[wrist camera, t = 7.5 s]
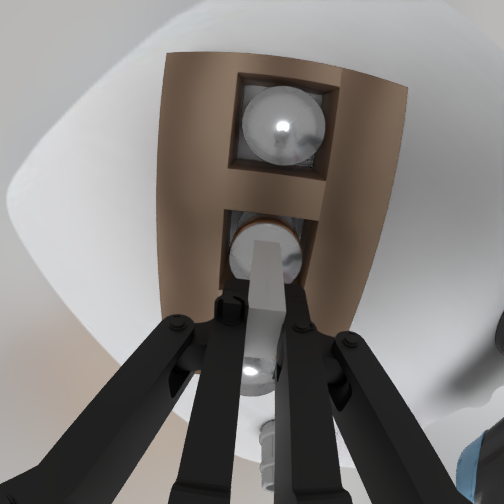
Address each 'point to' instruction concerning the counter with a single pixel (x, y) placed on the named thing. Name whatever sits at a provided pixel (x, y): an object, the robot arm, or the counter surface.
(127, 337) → the counter surface
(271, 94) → the knob
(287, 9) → the counter surface
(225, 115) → the wooden candle holder
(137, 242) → the counter surface
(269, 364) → the knob
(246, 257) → the knob
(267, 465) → the mug
